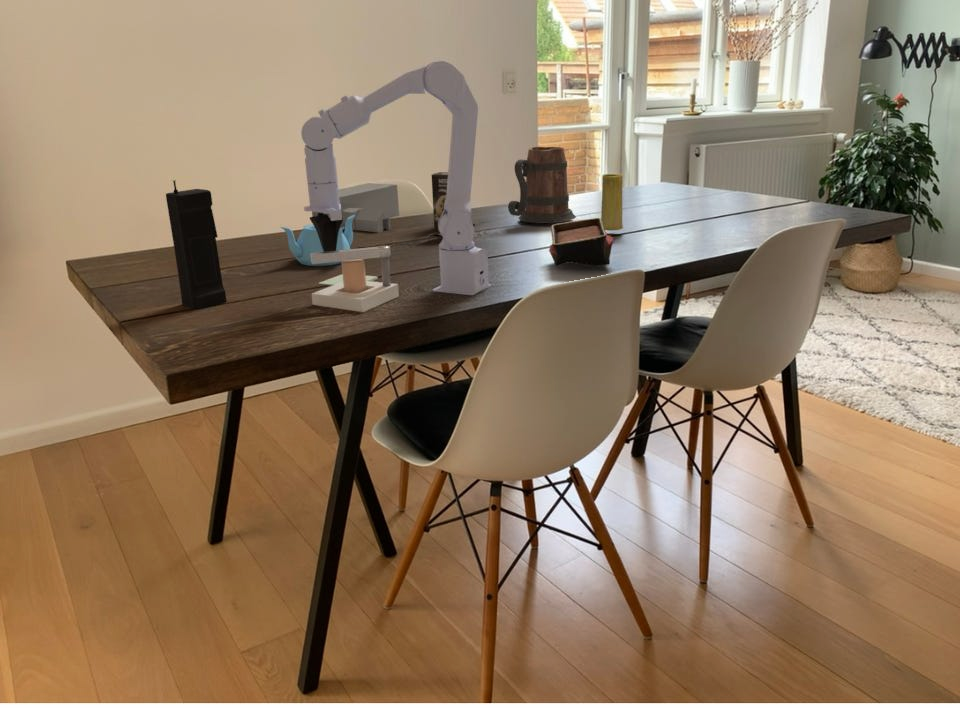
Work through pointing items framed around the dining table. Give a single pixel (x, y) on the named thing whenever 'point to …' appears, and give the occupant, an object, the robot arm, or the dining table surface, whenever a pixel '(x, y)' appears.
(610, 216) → the vase
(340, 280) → the mat
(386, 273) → the socket block
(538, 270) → the dining table surface
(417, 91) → the robot arm
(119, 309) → the dining table surface
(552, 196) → the tankard
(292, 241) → the teapot
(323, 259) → the grey long bar
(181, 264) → the portable radio
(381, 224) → the grey stepped box
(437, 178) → the coffee box
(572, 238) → the rectangular planter pot
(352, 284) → the plug
